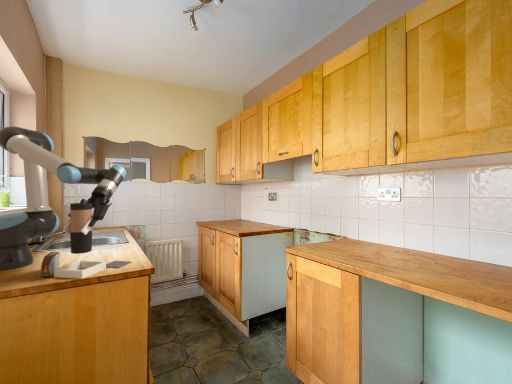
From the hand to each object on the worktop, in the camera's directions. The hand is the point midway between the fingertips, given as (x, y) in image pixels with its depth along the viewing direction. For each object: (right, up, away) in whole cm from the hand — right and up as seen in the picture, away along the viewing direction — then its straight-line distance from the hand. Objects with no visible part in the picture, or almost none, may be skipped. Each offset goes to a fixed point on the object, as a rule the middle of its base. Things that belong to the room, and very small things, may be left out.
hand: (74, 232), depth 103 cm
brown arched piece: (-11, -18, +3) cm, 21 cm away
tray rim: (0, -17, +4) cm, 18 cm away
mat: (+9, -17, +14) cm, 24 cm away
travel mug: (0, -9, +4) cm, 10 cm away
